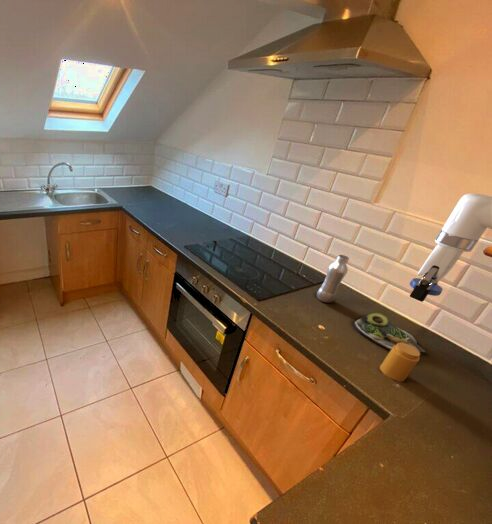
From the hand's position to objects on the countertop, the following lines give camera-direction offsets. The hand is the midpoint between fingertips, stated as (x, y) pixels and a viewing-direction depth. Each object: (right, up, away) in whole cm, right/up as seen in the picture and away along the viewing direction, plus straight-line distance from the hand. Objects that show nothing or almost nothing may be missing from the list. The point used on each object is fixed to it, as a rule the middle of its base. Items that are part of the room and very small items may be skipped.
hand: (420, 295), depth 89 cm
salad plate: (+3, -16, +17) cm, 24 cm away
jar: (-9, -24, 0) cm, 25 cm away
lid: (0, +3, -2) cm, 3 cm away
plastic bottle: (-8, -6, +34) cm, 36 cm away
